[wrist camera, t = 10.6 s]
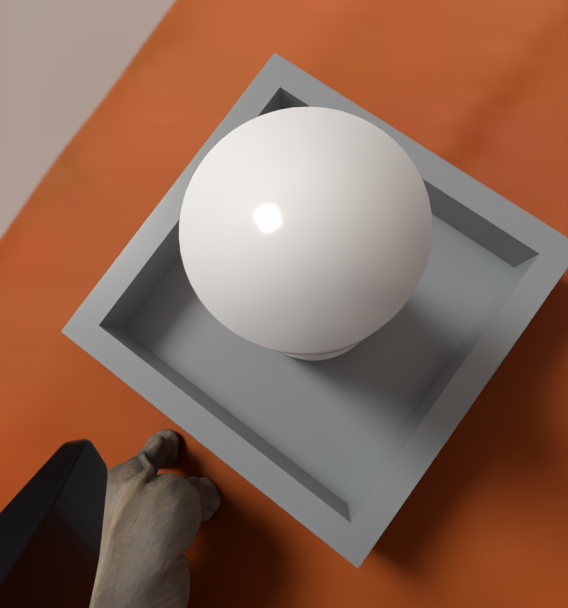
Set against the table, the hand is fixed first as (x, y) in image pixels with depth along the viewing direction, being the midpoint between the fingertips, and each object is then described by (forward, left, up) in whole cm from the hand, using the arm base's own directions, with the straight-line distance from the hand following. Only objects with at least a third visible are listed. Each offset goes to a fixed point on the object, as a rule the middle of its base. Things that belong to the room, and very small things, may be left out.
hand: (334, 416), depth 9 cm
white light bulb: (+3, -3, -10) cm, 11 cm away
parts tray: (+3, -3, -11) cm, 11 cm away
